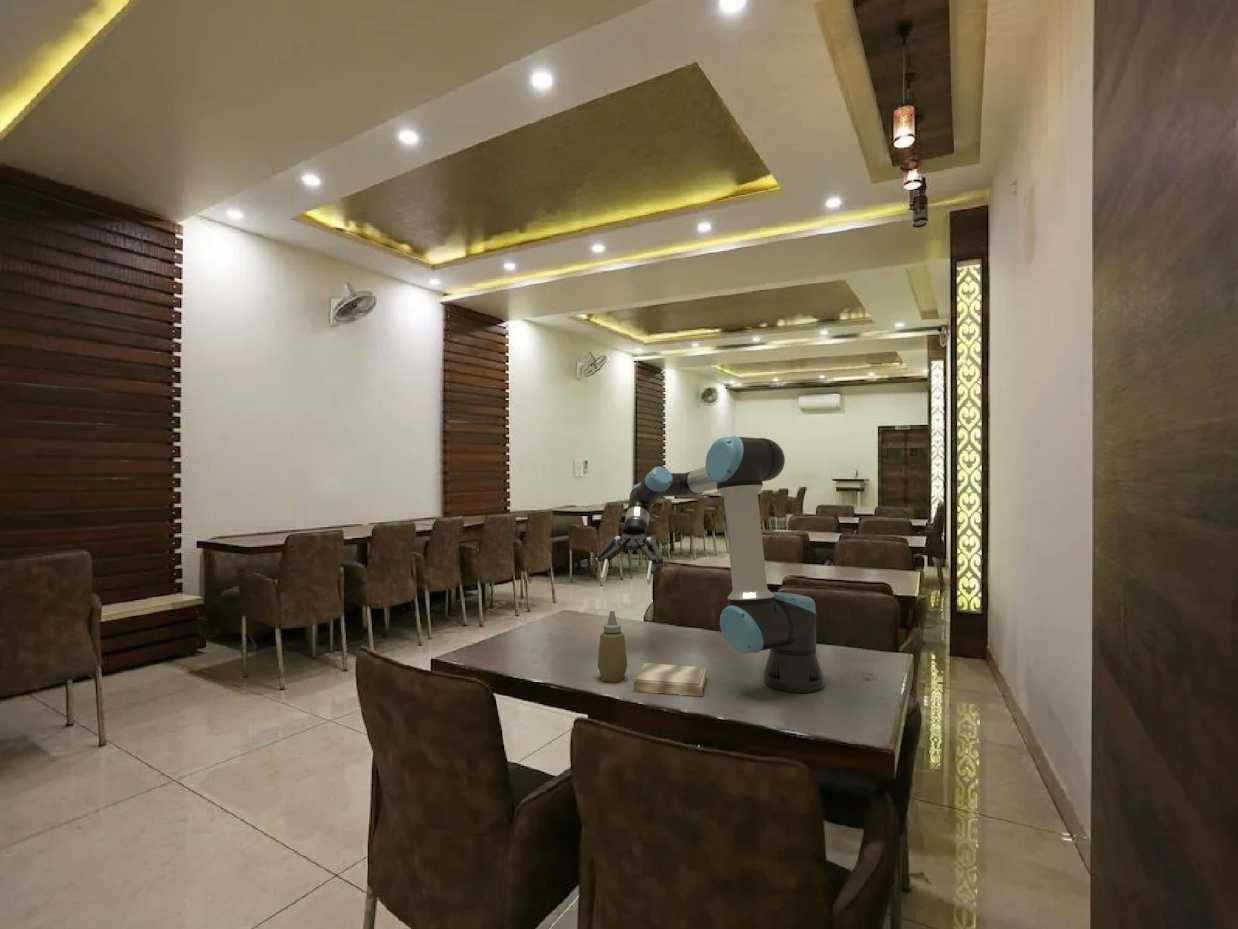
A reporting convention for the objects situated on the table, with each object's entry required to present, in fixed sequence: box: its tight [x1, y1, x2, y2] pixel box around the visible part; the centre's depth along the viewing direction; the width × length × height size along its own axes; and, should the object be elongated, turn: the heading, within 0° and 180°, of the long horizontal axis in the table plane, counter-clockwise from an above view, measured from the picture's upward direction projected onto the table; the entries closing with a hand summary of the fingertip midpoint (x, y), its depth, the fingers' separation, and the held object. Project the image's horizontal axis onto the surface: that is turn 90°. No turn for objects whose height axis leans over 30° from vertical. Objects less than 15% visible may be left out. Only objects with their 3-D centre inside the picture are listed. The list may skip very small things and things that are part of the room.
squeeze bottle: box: [597, 610, 628, 683], centre depth 157 cm, size 8×8×18 cm
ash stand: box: [633, 662, 707, 697], centre depth 153 cm, size 17×14×3 cm
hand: (625, 581), depth 171 cm, fingers open, 13 cm apart
